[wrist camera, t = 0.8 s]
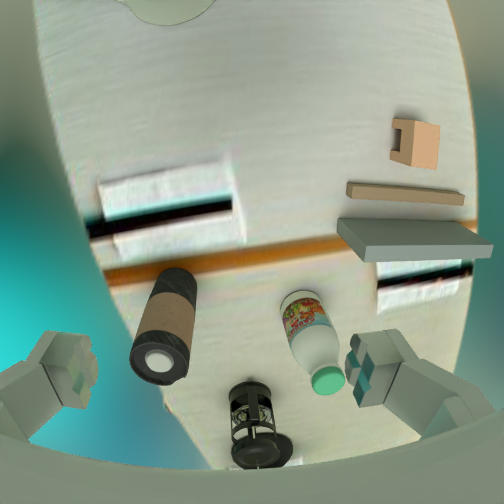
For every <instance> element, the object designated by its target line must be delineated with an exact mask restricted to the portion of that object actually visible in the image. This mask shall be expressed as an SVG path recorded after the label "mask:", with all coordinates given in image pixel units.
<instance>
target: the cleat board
mask: <svg viewBox="0 0 504 504" xmlns="http://www.w3.org/2000/svg"><path fill="white" fill-rule="evenodd" d="M346 195H347V196H348V197H350V198H351V199H369V200H389V201H406V202H422V203H436V204H448V205H460V206H463V204H464V198H465V195H463V194H460V193H458V192H452V191H443V190H433V189H423V188H412V187H400V186H387V185H373V184H356V183H347V191H346ZM337 233H338V234H339V235H340V236H341V237H342V238H343V239H344V241H345V242H346V243H347V244H348V245H349V246H350V247H351V248H352V249H353V251H354V252H355V253H356V254H357V255H358V256H359V257H360V258H361V260H362V261H363V262H389V261H419V260H447V259H473V258H490V257H491V253H492V250H493V246H494V245H493V244H491V243H490V242H488V241H487V240H485V239H483V238H482V237H480V236H479V235H477V234H475V233H474V232H472V231H470V230H469V229H467V228H465V227H464V226H462V225H460V224H458V223H457V222H449V221H425V220H395V219H354V218H338V224H337Z"/></svg>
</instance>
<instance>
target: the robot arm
mask: <svg viewBox="0 0 504 504" xmlns="http://www.w3.org/2000/svg"><path fill="white" fill-rule="evenodd" d="M117 1H118V2H121V3H123V4H126V5H127V6H128V7H129V8H130V9H131V11H132V12H133V13H134V14H135V15H136V16H137V17H138V18H139V19H141V20H143V21H145V22H147V23H150V24H155V25H174V24H179V23H183V22H186V21H188V20H191V19H193V18H195V17H197V16H198V15H200V14H201V13H203V12H204V11H205V10H206V9H207V8H208V7H209V6H210V5H211V4H212V3H213V2H214V1H215V0H117ZM91 346H92V344H91V341H90V338H89V337H88V336H87V335H83V334H75V333H66V332H57V331H49V330H48V331H45V332H44V333H43V335H42V336H41V338H40V339H39V341H38V342H37V343H36V345H35V347H34V348H33V350H32V351H31V353H30V354H29V356H28V357H27V359H26V361H20V362H18V363H16V364H15V365H13V366H11V367H10V368H8V369H6V370H4V371H3V372H1V373H0V504H504V408H502V409H500V410H498V411H495V409H494V408H493V406H492V405H491V404H490V402H489V401H488V399H487V398H486V397H485V395H484V394H483V392H482V391H481V390H480V388H479V387H477V386H475V385H473V384H472V383H469V382H468V381H466V380H463V379H462V378H460V377H458V376H456V375H454V374H452V373H450V372H448V371H446V370H444V369H442V368H440V367H438V366H437V365H435V364H433V363H431V362H429V361H427V360H425V359H419V358H418V357H417V355H416V354H415V352H414V351H413V349H412V348H411V347H410V345H409V344H408V342H407V341H406V339H405V338H404V337H403V335H402V334H401V333H400V331H399V330H397V329H390V330H382V331H377V332H368V333H357V334H353V336H352V338H351V341H350V346H351V348H352V350H351V351H350V352H349V353H348V354H347V356H346V360H345V374H346V378H347V380H348V383H350V384H351V385H353V386H354V390H353V395H354V397H355V399H356V402H357V404H358V406H359V408H361V407H368V406H375V405H381V404H383V406H385V407H386V408H387V409H388V410H390V411H391V412H392V413H393V414H395V415H396V416H397V417H398V418H400V419H401V420H402V421H403V422H405V423H406V424H407V425H408V426H410V427H411V428H412V429H413V430H415V431H416V432H417V433H419V434H420V435H421V438H420V439H419V441H416V442H412V443H409V444H405V445H402V446H398V447H394V448H390V449H386V450H382V451H378V452H374V453H369V454H365V455H360V456H355V457H350V458H345V459H340V460H334V461H328V462H321V463H314V464H307V465H299V466H290V467H279V468H267V469H250V470H186V469H169V468H156V467H146V466H137V465H129V464H122V463H115V462H108V461H103V460H97V459H92V458H87V457H82V456H77V455H73V454H68V453H64V452H60V451H56V450H52V449H48V448H44V447H41V446H37V445H34V444H31V443H30V441H29V440H28V439H29V438H30V437H31V436H32V435H33V434H34V433H35V432H36V431H37V430H39V429H40V428H41V427H42V426H43V425H44V424H45V423H46V422H47V421H48V420H50V419H51V418H52V417H53V416H54V415H55V414H56V413H57V412H59V410H61V409H62V408H63V407H62V406H65V407H72V408H78V409H86V408H87V405H88V402H89V399H90V396H91V392H90V390H89V388H90V387H92V386H93V385H95V383H96V380H97V377H98V363H97V359H96V356H95V355H94V354H93V353H92V352H91V351H90V348H91Z"/></svg>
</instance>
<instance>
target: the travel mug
mask: <svg viewBox="0 0 504 504" xmlns="http://www.w3.org/2000/svg"><path fill="white" fill-rule="evenodd" d="M196 297H197V284H196V281H195V279H194V277H193V276H192V275H191V274H190V273H189V272H187V271H186V270H183V269H180V268H170V269H167V270H165V271H164V272H162V273H161V274H160V276H159V277H158V279H157V281H156V283H155V286H154V288H153V290H152V293H151V295H150V297H149V299H148V302H147V304H146V307H145V310H144V313H143V316H142V319H141V322H140V325H139V328H138V331H137V334H136V337H135V340H134V343H133V346H132V349H131V352H130V357H129V361H130V365H131V368H132V369H133V371H134V372H135V373H136V374H137V375H138V376H139V377H140V378H142V379H143V380H145V381H147V382H149V383H152V384H155V385H161V386H168V385H172V384H173V383H174V382H175V381H177V380H179V379H181V378H183V377H184V378H185V377H186V375H187V373H188V368H189V360H190V352H191V344H192V337H193V329H194V322H195V311H196Z"/></svg>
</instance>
